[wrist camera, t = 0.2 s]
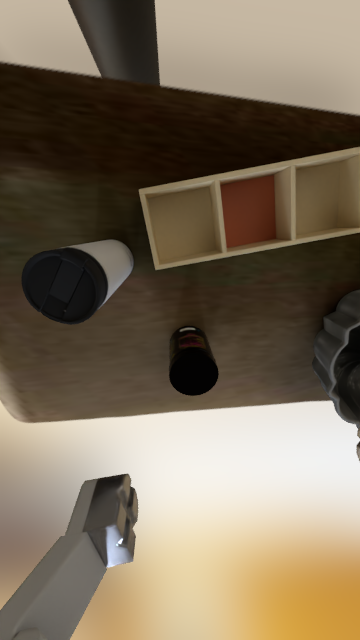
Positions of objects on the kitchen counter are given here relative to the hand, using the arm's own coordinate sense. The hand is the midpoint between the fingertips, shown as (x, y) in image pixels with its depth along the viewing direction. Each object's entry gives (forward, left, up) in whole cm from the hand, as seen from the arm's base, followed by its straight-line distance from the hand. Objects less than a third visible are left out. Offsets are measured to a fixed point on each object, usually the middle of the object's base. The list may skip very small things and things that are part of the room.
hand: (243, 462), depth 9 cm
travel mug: (-5, -10, -33) cm, 35 cm away
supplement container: (+11, -1, -33) cm, 34 cm away
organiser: (-8, +10, -33) cm, 35 cm away
